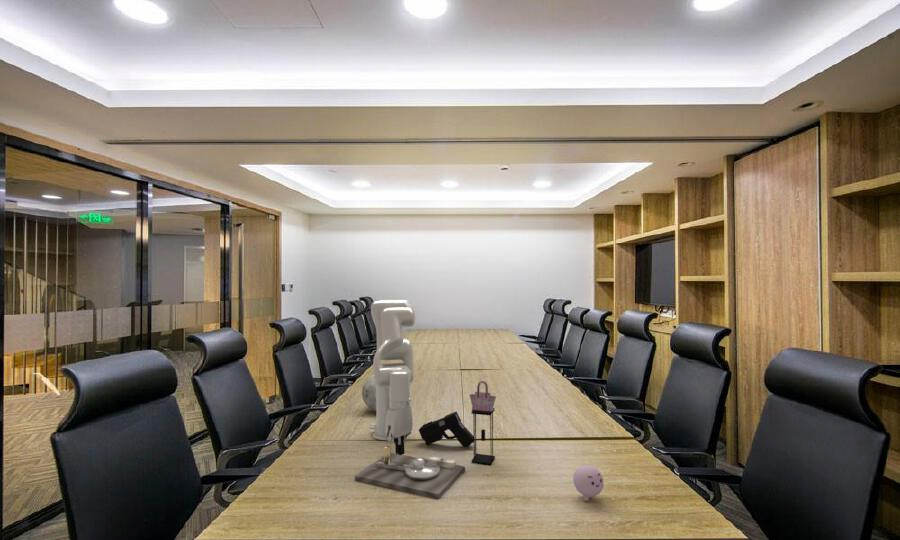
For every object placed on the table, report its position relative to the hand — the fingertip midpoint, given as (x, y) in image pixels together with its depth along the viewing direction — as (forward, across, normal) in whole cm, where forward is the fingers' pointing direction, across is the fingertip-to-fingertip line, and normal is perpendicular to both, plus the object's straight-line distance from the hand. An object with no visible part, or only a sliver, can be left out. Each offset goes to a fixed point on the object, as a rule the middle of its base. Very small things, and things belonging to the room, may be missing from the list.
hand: (399, 453), depth 160 cm
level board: (+4, +3, +9) cm, 10 cm away
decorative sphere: (+5, -40, -58) cm, 71 cm away
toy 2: (+4, -21, +63) cm, 67 cm away
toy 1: (+5, -26, +1) cm, 26 cm away
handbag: (+5, -24, +21) cm, 32 cm away
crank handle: (+3, +4, +8) cm, 9 cm away
